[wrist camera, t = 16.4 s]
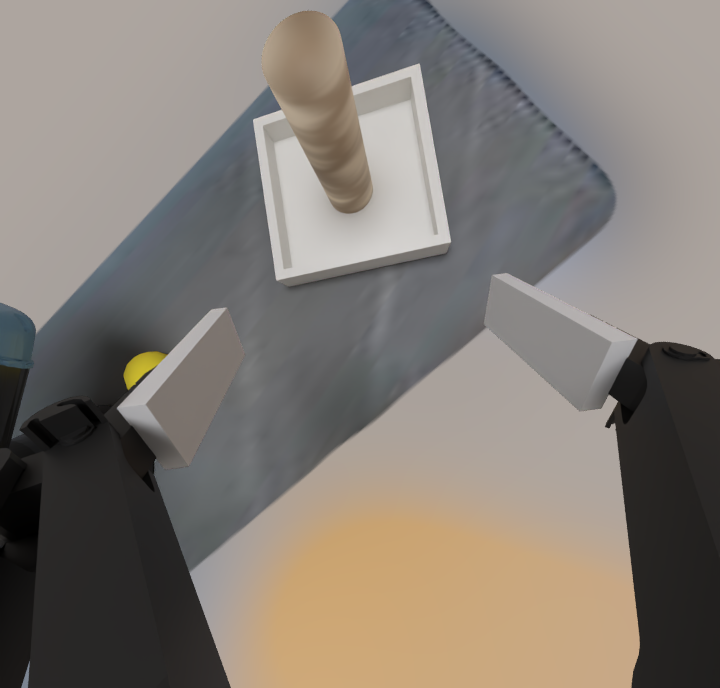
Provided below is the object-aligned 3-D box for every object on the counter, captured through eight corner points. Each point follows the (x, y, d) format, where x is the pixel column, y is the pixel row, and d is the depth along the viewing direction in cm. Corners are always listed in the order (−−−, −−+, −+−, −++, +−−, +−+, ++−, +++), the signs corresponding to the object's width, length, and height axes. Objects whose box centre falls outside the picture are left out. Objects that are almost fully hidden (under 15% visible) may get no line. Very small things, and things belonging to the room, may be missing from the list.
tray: (288, 286, 31) (276, 280, 28) (267, 140, 32) (253, 119, 29) (446, 253, 28) (451, 242, 25) (418, 92, 29) (419, 63, 26)
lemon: (151, 370, 35) (102, 369, 30) (177, 342, 34) (132, 336, 29) (174, 412, 33) (127, 419, 28) (203, 384, 33) (160, 385, 27)
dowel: (332, 218, 30) (267, 106, 16) (325, 175, 30) (256, 29, 16) (376, 207, 29) (347, 79, 15) (368, 163, 29) (334, -3, 15)
